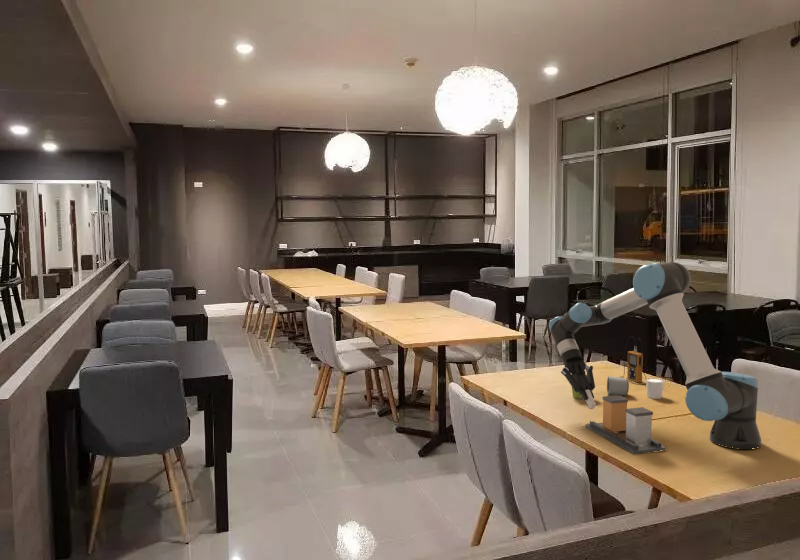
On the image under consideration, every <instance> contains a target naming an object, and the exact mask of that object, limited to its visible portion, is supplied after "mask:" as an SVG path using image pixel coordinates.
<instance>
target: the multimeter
mask: <svg viewBox="0 0 800 560" xmlns="http://www.w3.org/2000/svg"><path fill="white" fill-rule="evenodd" d="M630 338H633V340H634V341H635V345H634V346H633V347H634V349H633V350H629V351H627V368H626V367H625V364H626V363H625V361H623V368H624V369H623V376H619V378H625V374H626V375H627V377H626V379H627V380H628V382H629V383H631V384H635V385H639V386H646V383H642V384H641V382H643V374H644V377H645V381H646V380H647V379H648V378H647V376H646V373H645V372H644V368H643V366H644V365H643V362H644V346H643V343H642V340H641V338H640V337H637V339H635V337H634V336H629V337H628V338H627V341H626V344H625V347H624V352H623V356H625V353H626V348H627V345H628V342H629V339H630ZM638 340H639V342H640V344H641V349H642V351H641V352H638V348H637V347H638V344H637V342H638ZM625 368H626V369H627V373H625V370H626V369H625ZM634 382H635V383H634Z"/></svg>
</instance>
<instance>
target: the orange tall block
mask: <svg viewBox="0 0 800 560" xmlns="http://www.w3.org/2000/svg"><path fill="white" fill-rule="evenodd" d="M602 400H603V404H602V405H603V406H602V408H603V409H602V423H603V427H605V428H607V429H609V430H611V431H612V432H616V431H626V409H628V402H629V399H628V398H626V397H623V395H607V396H606V395H605V396H604V395H603V396H602Z"/></svg>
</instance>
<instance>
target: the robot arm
mask: <svg viewBox="0 0 800 560" xmlns="http://www.w3.org/2000/svg"><path fill="white" fill-rule="evenodd" d="M691 279H692V278H691V273H690V271H689V270H688V268H687V267H686V266H685V265H684V264H682V263H680V262H679V263H678V262H674V261H673V262H672V261H671V262H661V263H660V262H659V263H658V262H657V263H656V262H653V263H649V264H645V265H642V266H640V267H639V268H638V269H637V270H636V271H635V274H634V277H633V279H632V286H633V287H632V288H629V289H628V290H626V291H623V292H622V293H620V294H617V295H615V296H613V297H610V298H608V299H606V300H604V301H602V302H600V303H598V304H596V305H591V306H590V305H589V306H588V304H586V303H583V302H577V303H576V304H574V305H573V306H572V307H571V308H569V310H568V311H567V313H565V315H564V316H556V317H554V318H552V319H551V320H550V321H549V322H548V328H549V331H550V335H551V337H552V339H553V341H554V343H555V345H556V348H557V351H558V353H559V355H560V358H561V361H562V363H563V365H564V367H563V368H562V370H561V371H560V373H561V375H562V376H564V377H565V379H566V380H567V382H568V383H569V384H570V385H571V388H572V387H573V389H574V390H575V392H580V393H579V394H582V396H583V398H582V399H583V401H585V402H586V403H587V406H588V408H589V410H593V409H595V407H596V406H597V404H596V402H595V395H594V393H593V390H594V389H595V388H596V384H595V378H594V371H593V370H594V367H593V366H592V365H587V364H586V362H585V361H584V358H583V356H582V352H581V350H580V348H579V345H578V344H577V341H576V338H575V336H574V334H576V333H577V332H578V331H579V330H580V329H581V328H582V327H590V326H597V325H605V324H607V323H610V322H611V321H612V320H614V319H615V318H616V319H617V318H619V317H620V316H623V315H624V314H627V313H630V312H632V311H635V310H637V309H639V308H641V307H644V306H646V305H648V307H649V309H652V310H655V311H656V313H657V316H658V317H659V320H660V322H661V324H662V326H663V328H664V331H665V333H666V335H667V337H668V339H669V342H670V343H671V346H672V348H673V350H674V353H675V354H676V356H677V359H678V362H679V363H680V365H681V367H682V369H683V371H684V373H685V376H686V381H685V383H684V385H685V387H686V390H687V391H686V393H685V395H686V396H685V397H684V398H685V405H686V407H687V409H688V411H689V412H690V413H691V414H692V415H693V416H694V417H695V418H697V419H699V420H701V421H704V422H713V424H712V427H711V429H710V433H709V440H710V441H711V442H712V441H713V442H715V443H717V444H720V445H723V446H727V447H731V448H730V449H732V447H733V448H739V449H752V448H757V447H760V446H761V447H762V437H761V434H760V431H759V427H758V424H757V410H758V409H757V407H758V393H759V392H758V390H759V387H758V386H759V385H758V384H759V383H758V379H757V378H756V377H755V376H752V375H749V374H744V373H738V372H732V371H721V370H719V369H716V368H715V366H713V364H712V361H711V359H710V357H709V355H708V353H707V350H706V349H705V348H704V345H703V343H702V341H701V338H700V337H699V334H698V332H697V330H696V328H695V326H694V324H693V322H692V319H691V317H690V315H689V313H688V311H687V310H686V308H685V305H684V303H683V297H684V295H685V292H686V291H687V290H688V289H689V287H690V285H691V281H692V280H691ZM586 375H587V377H586ZM587 378H588V379H587ZM585 390H586V391H585ZM713 442H712V443H713ZM715 443H714V444H715ZM717 444H716V445H717ZM720 445H719V446H720ZM723 446H722V447H723ZM727 447H726V448H727ZM761 447H760V448H761ZM739 449H738V450H739Z"/></svg>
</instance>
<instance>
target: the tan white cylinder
mask: <svg viewBox="0 0 800 560" xmlns="http://www.w3.org/2000/svg"><path fill="white" fill-rule="evenodd" d="M646 379H647V380H646ZM646 379H645V382H646V383H645V384H646V385H645V386H646V397H647V398H649V399H654V400H656V399H657V400H659V399H662V398H663V391H664V383H665V381H664V380H663V379H659V378H646Z"/></svg>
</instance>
